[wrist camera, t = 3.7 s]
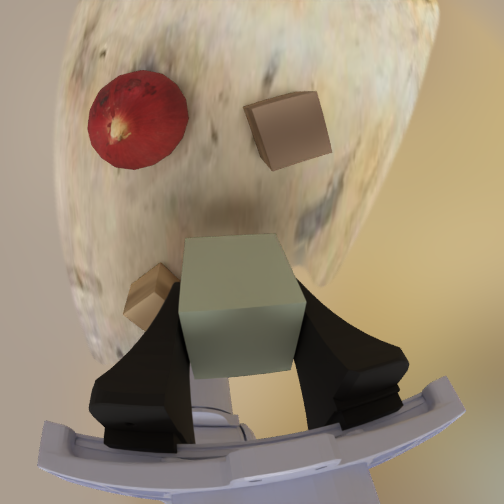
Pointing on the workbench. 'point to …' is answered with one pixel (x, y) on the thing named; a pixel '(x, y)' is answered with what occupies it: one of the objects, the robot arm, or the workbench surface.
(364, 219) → the workbench surface
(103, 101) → the onion
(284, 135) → the walnut block
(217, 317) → the sage block
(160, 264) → the oak block
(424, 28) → the workbench surface
